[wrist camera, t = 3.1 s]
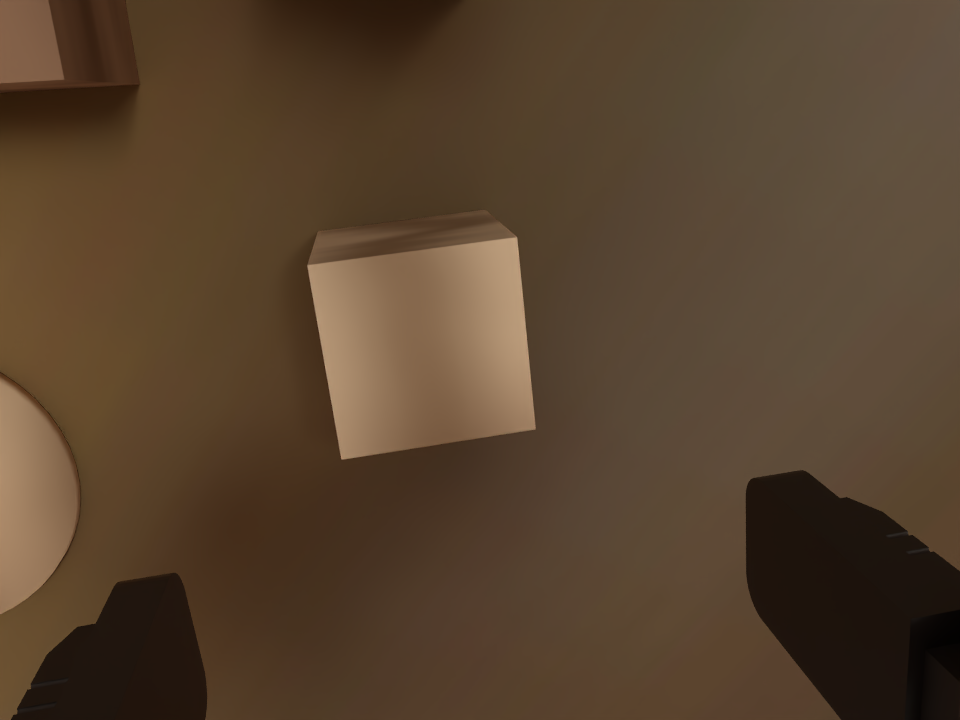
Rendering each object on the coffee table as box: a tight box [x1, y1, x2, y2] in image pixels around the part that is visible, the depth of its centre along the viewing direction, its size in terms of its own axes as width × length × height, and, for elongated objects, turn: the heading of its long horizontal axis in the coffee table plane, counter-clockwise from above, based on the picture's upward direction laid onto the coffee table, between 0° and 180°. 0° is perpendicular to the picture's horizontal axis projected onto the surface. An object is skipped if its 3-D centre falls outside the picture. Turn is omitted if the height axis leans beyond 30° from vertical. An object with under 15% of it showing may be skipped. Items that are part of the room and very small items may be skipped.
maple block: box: [307, 209, 536, 460], centre depth 26 cm, size 6×6×6 cm
